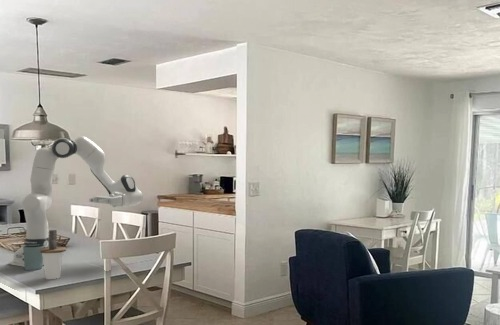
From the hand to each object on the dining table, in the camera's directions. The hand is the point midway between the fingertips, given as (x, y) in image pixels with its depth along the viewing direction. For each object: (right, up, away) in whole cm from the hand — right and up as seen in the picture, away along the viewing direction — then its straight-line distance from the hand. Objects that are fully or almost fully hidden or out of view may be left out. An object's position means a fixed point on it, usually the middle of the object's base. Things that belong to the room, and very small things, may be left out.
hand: (94, 200), depth 262 cm
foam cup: (-12, -35, -27) cm, 46 cm away
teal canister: (-29, -35, -8) cm, 46 cm away
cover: (-12, -22, -27) cm, 37 cm away
